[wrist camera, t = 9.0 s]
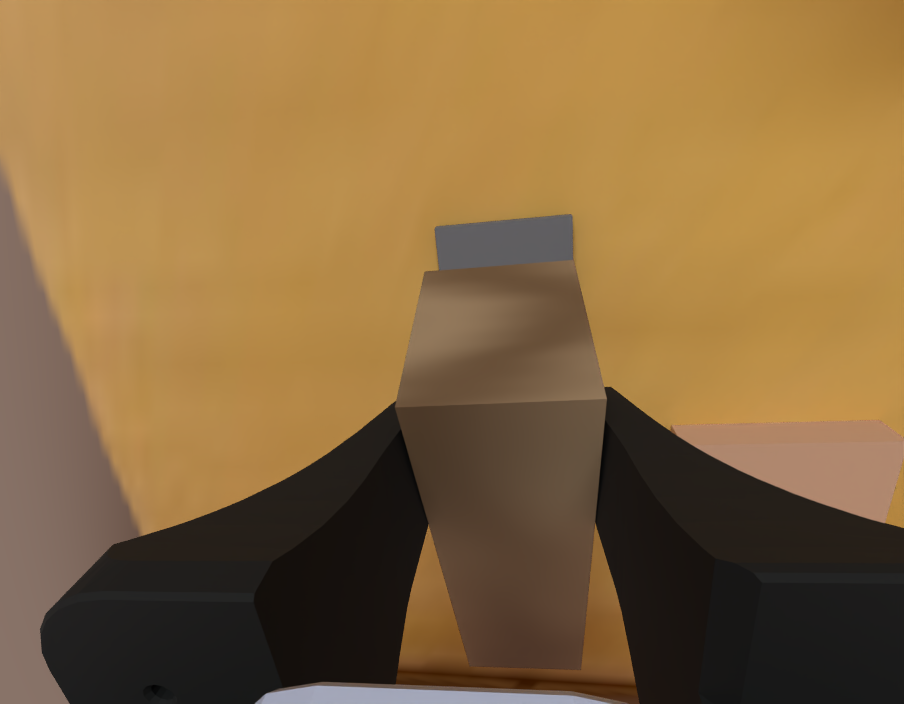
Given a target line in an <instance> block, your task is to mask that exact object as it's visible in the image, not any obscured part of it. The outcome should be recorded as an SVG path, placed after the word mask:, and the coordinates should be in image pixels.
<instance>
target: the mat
mask: <svg viewBox="0 0 904 704" xmlns="http://www.w3.org/2000/svg"><path fill="white" fill-rule="evenodd" d="M435 237H436V245H437V254H438V263H439V270H451V269H464V268H477V267H490V266H503V265H515V264H528V263H541V262H554V261H566V260H573V224H572V215H571V214H568V215H557V216H546V217H535V218H524V219H513V220H502V221H491V222H480V223H469V224H458V225H447V226H436V227H435Z"/></svg>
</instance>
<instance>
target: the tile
mask: <svg viewBox="0 0 904 704" xmlns="http://www.w3.org/2000/svg"><path fill="white" fill-rule="evenodd" d="M671 432H672V433H674V434H675V435H677V436H678V437H680V438H682V439H683V440H685V441H686V442H688V443H690V444H691V445H693V446H694V447H696V448H698V449H700V450H701V451H703V452H705V453H707V454H708V455H710V456H712V457H714V458H716V459H718V460H720V461H722V462H724V463H726V464H728V465H730V466H732V467H734V468H736V469H737V470H740V471H742V472H744V473H746V474H748V475H750V476H753V477H755V478H757V479H759V480H762V481H764V482H767V483H769V484H772V485H774V486H776V487H779V488H781V489H784V490H786V491H789V492H791V493H794V494H796V495H799V496H802V497H805V498H807V499H810V500H813V501H816V502H818V503H821V504H824V505H827V506H830V507H833V508H837V509H840V510H843V511H846V512H849V513H852V514H855V515H858V516H861V517H864V518H868V519H871V520H875V521H878V522H882V523H885V521H886V517H887V514H888V510H889V507H890V504H891V500H892V497H893V493H894V490H895V486H896V483H897V479H898V476H899V473H900V469H901V466H902V462H903V459H904V438H903V437H902V436H901V435H899V434H898V433H897V432H895V431H894V430H893V429H891V428H890V427H888V426H887V425H886V424H884V423H883V422H882V421H880V420H860V421H820V422H781V423H741V424H701V425H671Z"/></svg>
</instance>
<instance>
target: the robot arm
mask: <svg viewBox="0 0 904 704" xmlns="http://www.w3.org/2000/svg"><path fill="white" fill-rule="evenodd" d="M604 389H605V393H606V397H607V403H606V414H605V424H604V434H603V445H602V455H601V466H600V476H599V487H598V497H597V507H596V518H595V523H596V526H597V530H598V533H599V536H600V539H601V543H602V546H603V549H604V552H605V556H606V559H607V562H608V565H609V569H610V572H611V575H612V578H613V582H614V585H615V588H616V591H617V595H618V599H619V603H620V607H621V611H622V615H623V620H624V625H625V630H626V635H627V640H628V645H629V650H630V655H631V661H632V666H633V671H634V676H635V682H636V687H637V692H638V697H639V703H640V704H904V528H901V527H897V526H894V525H890V524H886V523H882V522H878V521H875V520H871V519H868V518H864V517H861V516H858V515H855V514H852V513H849V512H846V511H843V510H840V509H837V508H833V507H830V506H827V505H824V504H821V503H818V502H816V501H813V500H810V499H807V498H805V497H802V496H799V495H796V494H794V493H791V492H789V491H786V490H784V489H781V488H779V487H776V486H774V485H772V484H769V483H767V482H764V481H762V480H759V479H757V478H755V477H753V476H750V475H748V474H746V473H744V472H742V471H740V470H737V469H736V468H734V467H732V466H730V465H728V464H726V463H724V462H722V461H720V460H718V459H716V458H714V457H712V456H710V455H708V454H707V453H705V452H703V451H701V450H700V449H698V448H696V447H694V446H693V445H691V444H690V443H688V442H686V441H685V440H683V439H682V438H680V437H678V436H677V435H675V434H674V433H672V432H671V431H669V430H668V429H666V428H665V427H663V426H662V425H661V424H659V423H658V422H656V421H655V420H654V419H652V418H651V417H649V416H648V415H647V414H645V413H644V412H643V411H641V410H640V409H639V408H637V407H636V406H635V405H634V404H632V403H631V402H630V401H628V400H627V399H626V398H625V397H623V396H622V395H621V394H620V393H618V392H617V391H616V390H614V389H613V388H611V387H604ZM395 405H396V401H395V402H394V403H393V404H391V405H390V406H389V407H388V408H386V409H385V410H384V411H383V412H382V413H380V414H379V415H378V416H377V417H375V418H374V419H373V420H372V421H370V422H369V423H368V424H367V425H365V426H364V427H363V428H362V429H361V430H359V431H358V432H357V433H355V434H354V435H353V436H351V437H350V438H349V439H347V440H346V441H344V442H343V443H342V444H340V445H339V446H338V447H336V448H335V449H333V450H332V451H331V452H329V453H328V454H326V455H325V456H323V457H322V458H320V459H319V460H317V461H316V462H314V463H312V464H311V465H309V466H308V467H306V468H304V469H302V470H301V471H299V472H297V473H295V474H294V475H292V476H290V477H288V478H287V479H285V480H283V481H281V482H279V483H277V484H275V485H273V486H271V487H269V488H267V489H264V490H262V491H260V492H258V493H256V494H254V495H252V496H250V497H248V498H246V499H244V500H241V501H239V502H237V503H234V504H232V505H230V506H227V507H225V508H222V509H220V510H217V511H215V512H212V513H210V514H207V515H204V516H202V517H199V518H196V519H194V520H191V521H188V522H185V523H182V524H179V525H176V526H173V527H170V528H167V529H163V530H160V531H157V532H154V533H150V534H147V535H144V536H141V537H137V538H134V539H131V540H128V541H124V542H120V543H117V544H114V545H112V546H111V547H110V548H109V549H108V550H107V551H106V552H105V553H104V554H103V556H102V557H101V558H100V559H99V560H98V561H97V562H96V563H95V564H94V565H93V566H92V567H91V568H90V569H89V570H88V571H87V572H86V573H85V574H84V575H83V576H82V577H81V578H80V579H79V580H78V581H77V582H76V583H75V584H74V585H73V586H72V587H71V588H70V589H69V590H68V591H67V592H66V594H64V595H63V596H62V598H61V599H60V600H59V601H58V602H57V603H56V604H55V605H54V606H53V607H52V608H51V609H50V610H49V611H48V612H47V613H46V615H45V617H44V620H43V623H42V625H41V628H40V633H41V647H42V654H43V656H44V658H45V661H46V663H47V665H48V668H49V670H50V671H51V673H52V675H53V677H54V678H55V680H56V682H57V683H58V685H59V687H60V688H61V690H62V692H63V693H64V695H65V697H66V698H67V700H68V701H69V703H70V704H628V703H625V702H620V701H615V700H611V699H606V698H601V697H596V696H591V695H587V694H582V693H577V692H573V691H549V690H523V689H497V688H496V689H495V688H470V687H444V686H417V685H395V684H396V677H397V670H398V663H399V656H400V650H401V643H402V637H403V631H404V624H405V618H406V612H407V606H408V601H409V597H410V592H411V588H412V584H413V580H414V577H415V573H416V569H417V565H418V562H419V558H420V554H421V550H422V547H423V543H424V539H425V536H426V532H427V528H428V524H429V523H428V520H427V517H426V513H425V510H424V506H423V503H422V499H421V496H420V492H419V489H418V486H417V482H416V479H415V475H414V472H413V468H412V465H411V461H410V458H409V454H408V451H407V448H406V444H405V441H404V437H403V434H402V430H401V427H400V423H399V420H398V416H397V413H396V410H395Z"/></svg>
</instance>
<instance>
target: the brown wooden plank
mask: <svg viewBox="0 0 904 704" xmlns="http://www.w3.org/2000/svg"><path fill="white" fill-rule="evenodd" d="M606 403H607V397H606V393H605V389H604V385H603V380H602V376H601V372H600V368H599V364H598V359H597V355H596V351H595V347H594V343H593V339H592V334H591V330H590V326H589V322H588V318H587V313H586V309H585V305H584V301H583V297H582V292H581V288H580V284H579V280H578V276H577V271H576V267H575V263H574V260H566V261H554V262H541V263H528V264H515V265H503V266H490V267H477V268H464V269H451V270H439V271H426V272H424V277H423V282H422V286H421V291H420V295H419V300H418V304H417V309H416V313H415V318H414V323H413V327H412V332H411V336H410V341H409V345H408V350H407V355H406V359H405V364H404V368H403V373H402V377H401V382H400V387H399V391H398V396H397V400H396V405H395V410H396V413H397V416H398V420H399V423H400V427H401V430H402V434H403V437H404V441H405V444H406V448H407V451H408V454H409V458H410V461H411V465H412V468H413V472H414V475H415V479H416V482H417V486H418V489H419V492H420V496H421V499H422V503H423V506H424V510H425V513H426V517H427V520H428V523H429V527H430V530H431V534H432V537H433V541H434V544H435V548H436V551H437V555H438V558H439V561H440V565H441V568H442V572H443V575H444V579H445V582H446V586H447V589H448V593H449V596H450V599H451V603H452V606H453V610H454V613H455V617H456V620H457V624H458V627H459V631H460V634H461V637H462V641H463V644H464V648H465V651H466V655H467V658H468V662H469V665H470V666H477V667H508V668H539V669H570V670H581V664H582V653H583V643H584V632H585V622H586V611H587V601H588V591H589V580H590V570H591V559H592V549H593V539H594V528H595V518H596V507H597V497H598V487H599V476H600V466H601V455H602V445H603V434H604V424H605V414H606Z"/></svg>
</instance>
